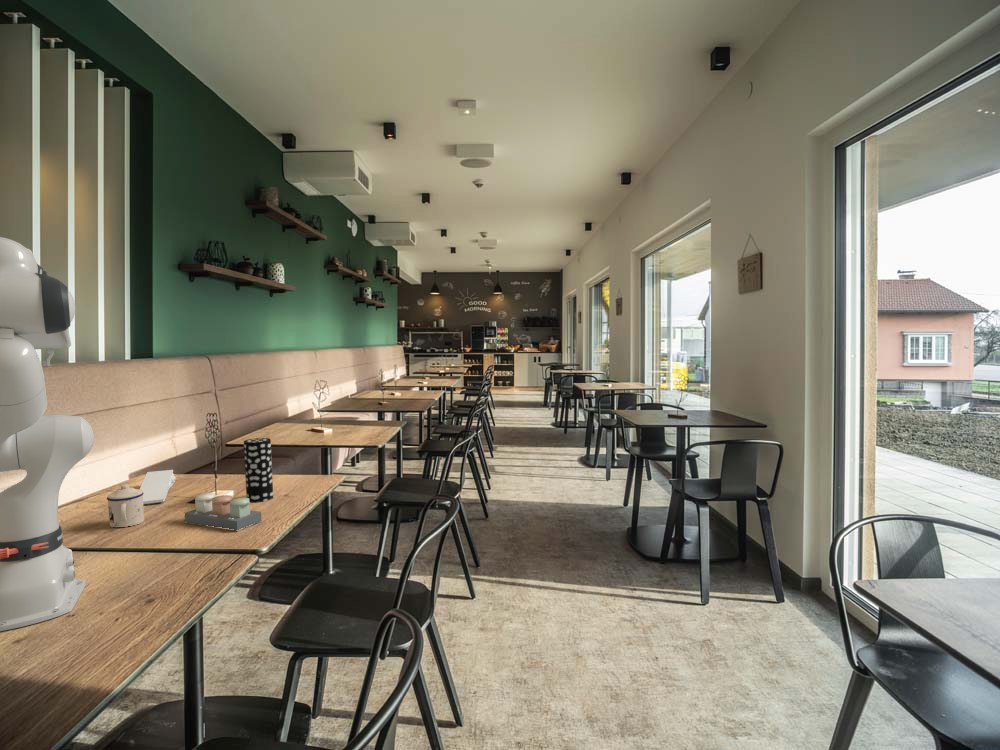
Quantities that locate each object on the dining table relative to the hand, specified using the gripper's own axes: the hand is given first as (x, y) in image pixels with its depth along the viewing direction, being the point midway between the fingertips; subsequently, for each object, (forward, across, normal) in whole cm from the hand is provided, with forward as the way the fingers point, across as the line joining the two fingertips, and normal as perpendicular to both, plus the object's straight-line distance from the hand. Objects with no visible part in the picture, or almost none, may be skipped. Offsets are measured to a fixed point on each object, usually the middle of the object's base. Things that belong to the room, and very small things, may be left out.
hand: (22, 368), depth 143 cm
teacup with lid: (+48, +20, +11) cm, 53 cm away
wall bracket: (+49, +31, +43) cm, 72 cm away
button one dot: (+46, +40, +1) cm, 60 cm away
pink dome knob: (+45, +43, -5) cm, 63 cm away
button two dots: (+46, +47, -11) cm, 66 cm away
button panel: (+48, +43, -5) cm, 65 cm away
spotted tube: (+48, +58, +13) cm, 77 cm away
